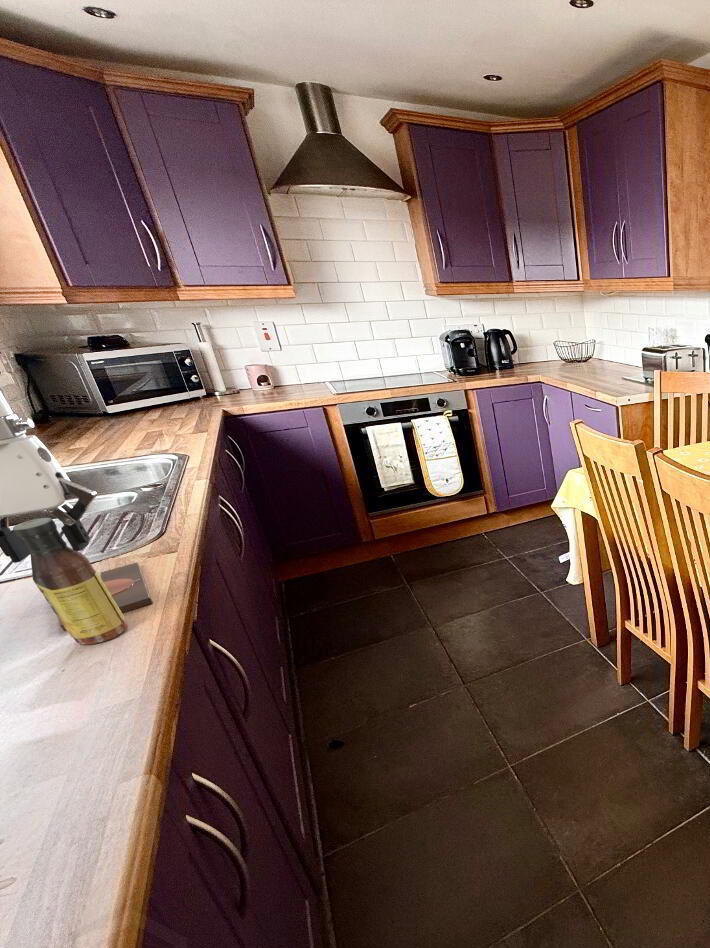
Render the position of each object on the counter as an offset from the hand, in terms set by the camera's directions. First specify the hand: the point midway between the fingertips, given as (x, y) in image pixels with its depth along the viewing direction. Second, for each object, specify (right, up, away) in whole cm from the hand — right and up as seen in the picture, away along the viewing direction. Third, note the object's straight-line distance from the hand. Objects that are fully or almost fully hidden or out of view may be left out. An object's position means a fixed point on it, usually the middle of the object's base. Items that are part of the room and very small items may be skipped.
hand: (52, 552), depth 86 cm
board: (-12, -8, +19) cm, 24 cm away
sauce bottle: (+1, -14, +6) cm, 15 cm away
